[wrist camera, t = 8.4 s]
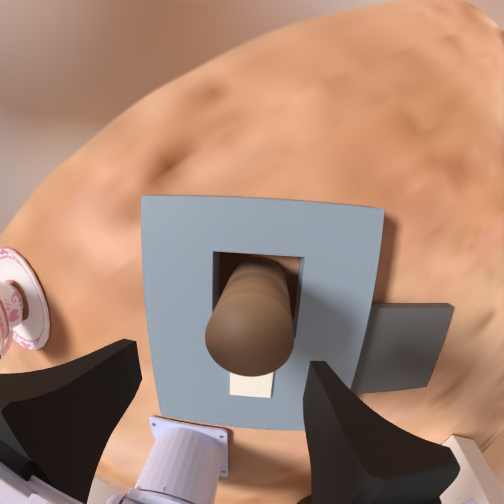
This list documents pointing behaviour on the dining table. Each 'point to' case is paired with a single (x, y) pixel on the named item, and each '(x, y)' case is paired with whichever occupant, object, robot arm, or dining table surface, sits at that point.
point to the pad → (400, 346)
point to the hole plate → (207, 296)
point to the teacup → (21, 304)
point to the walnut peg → (252, 320)
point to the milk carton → (471, 475)
